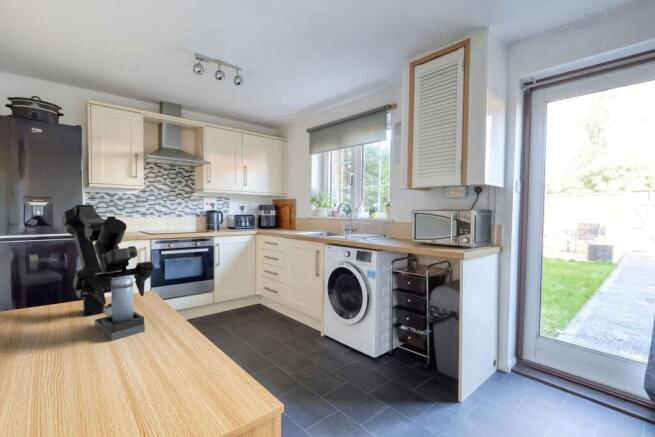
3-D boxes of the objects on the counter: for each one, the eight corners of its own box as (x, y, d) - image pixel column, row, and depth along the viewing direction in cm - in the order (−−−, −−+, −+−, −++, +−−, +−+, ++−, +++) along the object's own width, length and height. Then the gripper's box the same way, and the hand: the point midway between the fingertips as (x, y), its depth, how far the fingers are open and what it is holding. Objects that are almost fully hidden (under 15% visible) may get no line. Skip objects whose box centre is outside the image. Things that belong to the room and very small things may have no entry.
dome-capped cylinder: (107, 327, 85) (105, 280, 84) (125, 320, 89) (124, 276, 89) (120, 329, 83) (119, 282, 82) (138, 322, 88) (137, 277, 87)
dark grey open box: (94, 326, 90) (94, 306, 90) (125, 318, 96) (125, 299, 96) (111, 340, 81) (110, 318, 80) (144, 331, 87) (144, 310, 86)
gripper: (74, 240, 80) (88, 289, 74) (151, 235, 95) (168, 275, 88) (67, 266, 85) (80, 314, 79) (141, 257, 100) (156, 297, 94)
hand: (124, 299), depth 85 cm, fingers open, 9 cm apart
